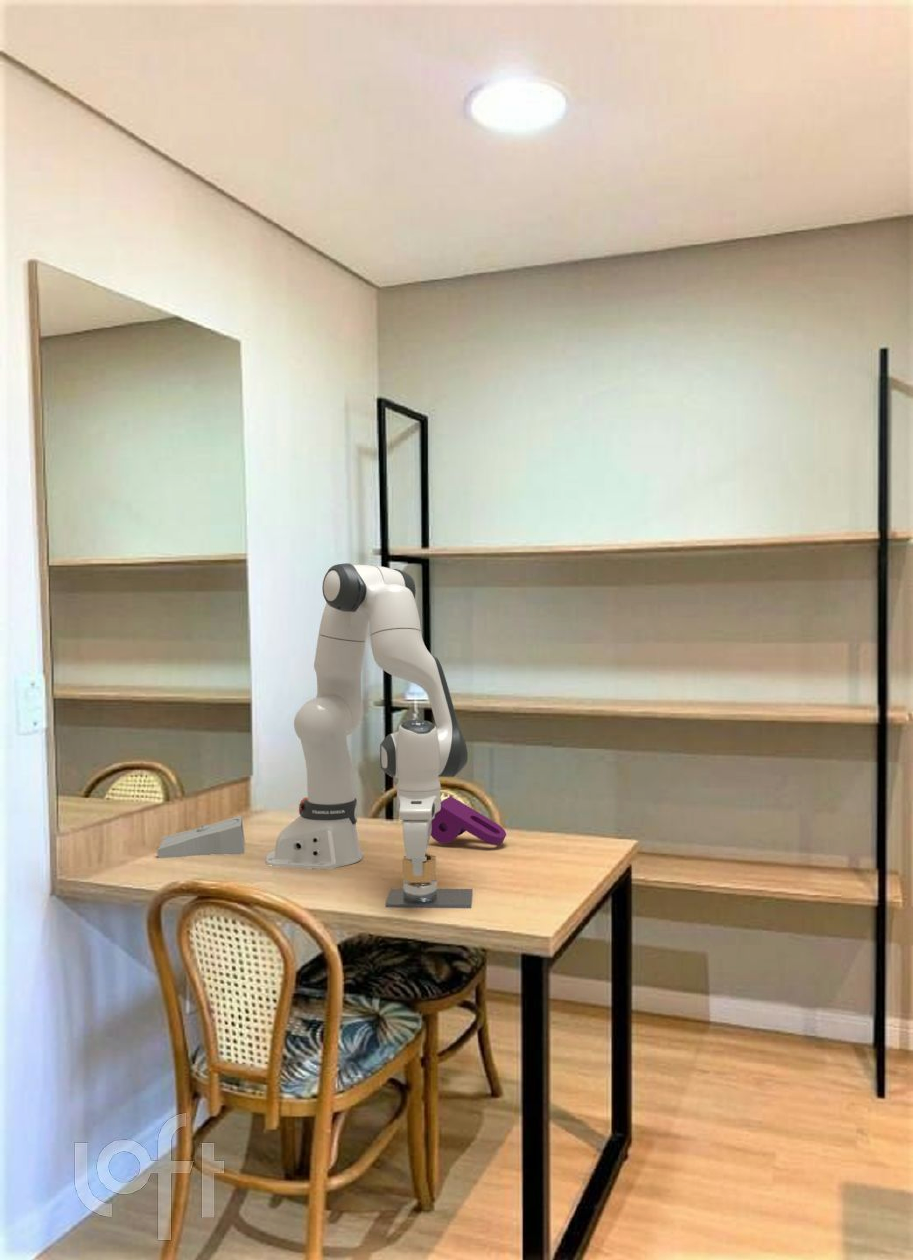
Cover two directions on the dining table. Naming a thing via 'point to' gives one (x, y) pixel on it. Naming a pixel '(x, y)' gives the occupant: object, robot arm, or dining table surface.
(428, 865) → the ring
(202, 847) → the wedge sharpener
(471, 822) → the mounting bracket
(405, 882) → the base with metal peg
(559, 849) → the dining table surface
